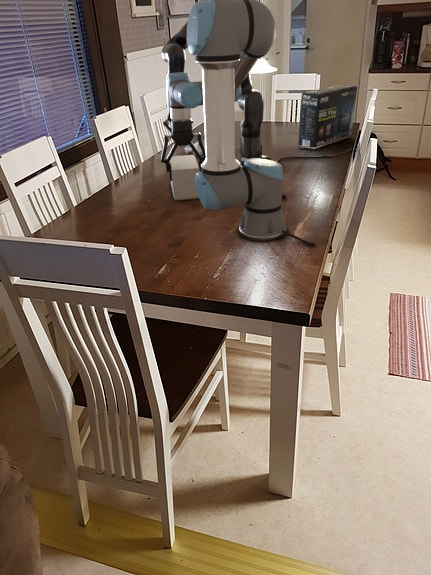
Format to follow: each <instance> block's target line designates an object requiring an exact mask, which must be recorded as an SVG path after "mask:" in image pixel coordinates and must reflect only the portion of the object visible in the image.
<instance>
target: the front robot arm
mask: <svg viewBox="0 0 431 575" xmlns="http://www.w3.org/2000/svg"><path fill="white" fill-rule="evenodd" d="M187 18H188V19H187V21H188V24H187V43H188V48H187V49H188V52H189V53H190V55H192V56H195V63H196V65H198V66H199V67H200V69H201V80H199V81H191V80H190V74H189V73H188V72H184V73H183V72H179V73H171V74H169V75H168V89H169V100H170V113H171V119H172V121H171V123H170V124H171V128H172V134H171V133H170V134H169V135H167V134H164V135H163V140H164V142H163V146H162V151H161V156H160V163H162V164H165V170H166V173H169V181H170V182H171V181H172V171H171V162H170V160H171V158H172V156H174V154H175V152H176V150H177V149H178V147H183V146H184V147H186V146H188V145H189V146H190V147H191V148H192V150H193V151H194V153H195V154H196V155H195V154H194V155H195V156H196V157H197V158H198V159H197V164H198V166H199V171H200V172H198V173H196V175H195V183H196V189H197V192H198V196H199V198H198V199H199V201H200V203H201V205H202V206H203V208H204V209H205V210H207V211H222V210H226V209H231V208H238V207H244V211H243V213H242V215H241V217H240V222H239V226H238V232H239V235H240V236H241V237H242V238H244V239H247V240H250V241H254V242H271V241H277V240H279V239H281V238H283V237H285V235H286V236H289V237H291V238H293V239H295V240H297V241H299V242H301V243H304V244H305V245H306V244H307V245H309V246H316V242H313V241H308V240H306V239H303V238H301V237H299V236H297V235H295V234H293V233H290V232H288V231H287V223H286V221H285V216H284V214H283V210H282V200H283V199H282V192H283V183H284V174H283V173H284V172H283V171H284V170H283V166H282V164H280V163H279V162H278V163H277V162H276V161H275V160H273V159H272V160H267V159H259V158H252V159H248V160H245V163H244V166H243V167H241V161H239V160H238V159H237V158H236V111H235V110H236V107H235V106H236V103H237V101H238V100H239V99H240V95H241V83H242V82H243V81H244V79H245V78H246V76H247V75H248V73H249V72H250V73H251V71H252V69H253V68H254V67H255V65H256V63H258V60H259V59H261V58H264V57H265V56H266V55H267V54H268V53H269V51H270V50H271V49H272V47H273V46H274V43H275V41H276V40H275V39H276V36H277V26H276V20H275V18H274V15H273V14H272V11H271V10H270V9H269V8H268V6H266V5H265V4H264V3H263V2H261V1H259V0H201V1H197V2H195V3H194V4H193V5H192V7H191V8H190V12H189V15H188V17H187ZM199 106H203V124H204V138H205V149H204V146H203V143H202V141H201V138H202V134H201V132H197V133H194V131H193V124H192V120H193V119H192V118H193V117H192V109H195V108H197V107H199ZM191 119H192V120H191ZM194 138H195V140H196V141H197V142H199V145H200V148H201V150H202V153H203V155H200V154H199V152H198V151H197V149H196V148H195V146H194V143H193V141H192V140H194ZM171 140H172V141H173V144H172V146H171V148H170V150H169V152H168V154H167V151H168V147H169V146H168V145H169V142H170V141H171ZM205 150H206V151H205ZM166 154H167V156H166Z"/></svg>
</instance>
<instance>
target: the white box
mask: <svg viewBox="0 0 431 575" xmlns="http://www.w3.org/2000/svg"><path fill="white" fill-rule="evenodd" d="M170 162H171V171H172V181H170V186H171V191H172V196H173V201H183V200H194V199H195V200H196V199H200V198H199V196H198V192H197V189H196V183H195V175H196V173H198V172H200V171H199V166H198V160H197V159H196V155H195V154H186V155H173V156H172V158H171V160H170Z"/></svg>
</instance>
